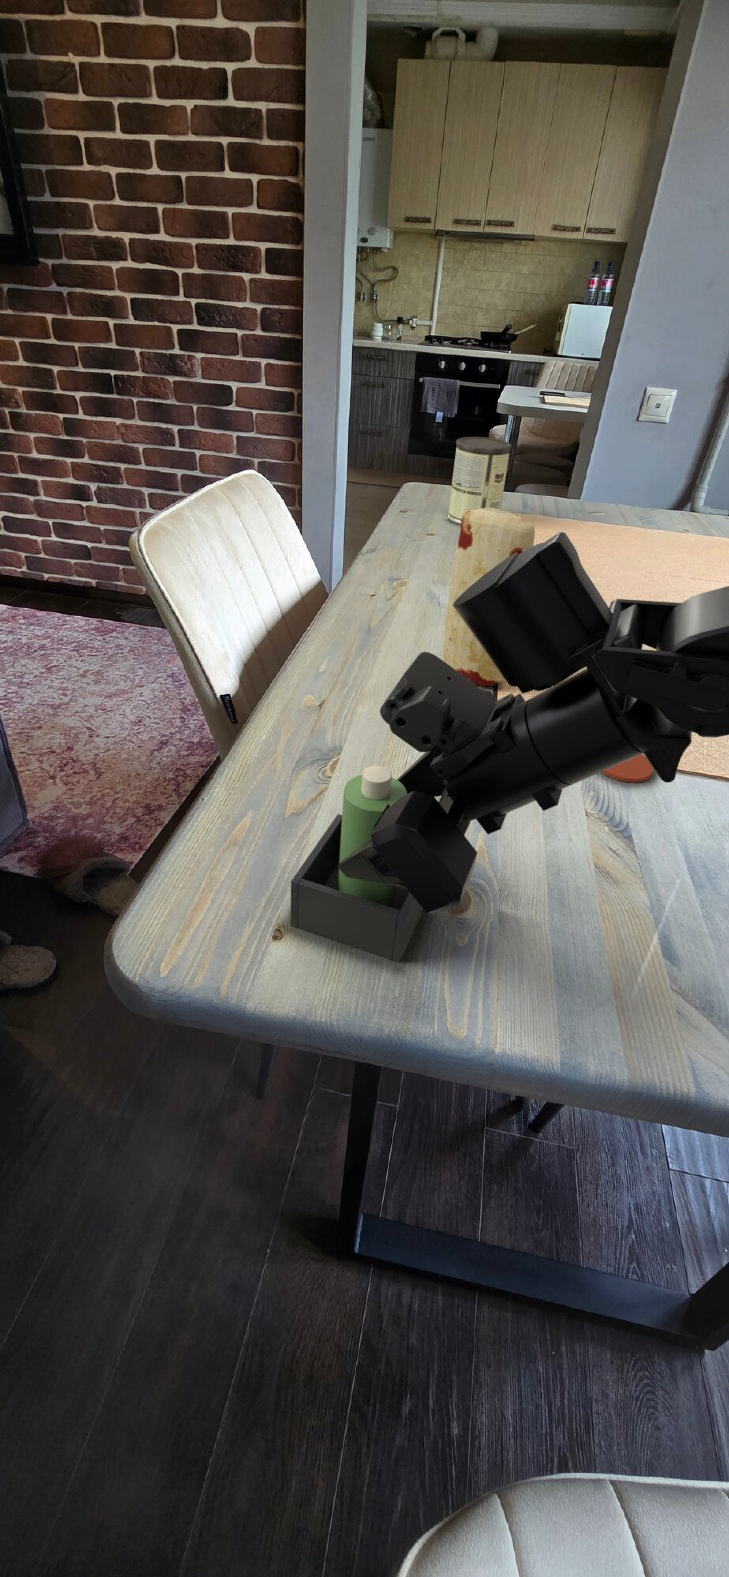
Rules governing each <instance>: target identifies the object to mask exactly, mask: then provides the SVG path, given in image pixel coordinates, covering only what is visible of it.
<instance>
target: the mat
mask: <svg viewBox="0 0 729 1577" xmlns="http://www.w3.org/2000/svg"><path fill="white" fill-rule="evenodd" d="M654 771H655V770H654V768H653V767H652V765H651V764H650V762H649V761H648V759H647V758H646V756H645V755H644V754H641V755H639V756H636V757H634V758H632V759H630V760H627V761H625V762H623V763H621V764H618V765H616V766H614V767H611V768H609V769H607V770H605V771H602V772H601V773H602V774H603V775H605V776H607V777H608V778H611V779H613V780H615V781H619V782H624V783H632V784H634V783H635V784H637V783H642V782H645V781H648V780H649V779H651V777H653V774H654Z"/></svg>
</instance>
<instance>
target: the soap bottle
mask: <svg viewBox="0 0 729 1577" xmlns="http://www.w3.org/2000/svg"><path fill="white" fill-rule="evenodd" d="M405 795H407V791H406V789H405V787H404V786H403V784H402V783H400V782H399V781H398V780H397V779H396V778H394V777H393V774H392V772H391V770H390V769H389V768H386V767H384V766H381V765H370V766H367V767H365V769H364V770H363V771H362V774H360V775H357V776H354V777H352V778H350V779H349V780H348V781H347V782H346V783H345V784H344V788H343V798H342V799H343V800H342V813H341V815H342V828H341V844H340V860H339V863H340V862H341V861H342V860H344V859H345V858H346V857H347V856H349V855H350V854H351V853H352V852H354V851H355V850H357V849H358V848H359V847H361V846H362V845H364V844H365V843H366V842H368V841H369V840H371V839H372V838H371V834H372V830H373V827H374V825H375V824H376V822H377V820H378V819H379V817H380V815H381V814H382V812H383V810H384V809H385V807H386V806H387V804H389V805H390V806H391V805H392V804H394V803H395V802H396V801H397V800H398V799H399V798H401V797H403V796H405ZM395 889H396V886H393V885H387V884H382V883H376V882H371V881H365V880H359V879H353V878H348V877H346V876H345V875H344V874H343V873H342V871H341V870H340V869H339V877H338V891H341V892H344V893H347V894H350V895H354V896H357V897H360V898H363V899H366V900H369V901H372V902H375V903H378V904H381V905H385V906H388V907H391V908H393V905H394V897H395Z"/></svg>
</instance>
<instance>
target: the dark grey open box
mask: <svg viewBox="0 0 729 1577" xmlns="http://www.w3.org/2000/svg"><path fill="white" fill-rule="evenodd" d="M341 828H342V814H340V813H337V815H336V816H335V817H334V818H333V820H332V822H331V823H330V824H329V826H328V827H327V829H326V830H325V832H324V833H323V834H322V836H321V837H320V839H319V840H318V842H317V843H316V844H315V846H314V847H313V849H312V850H311V852H310V853H309V855H308V856H307V857H306V858H305V860H304V862H303V863H302V865H301V866H300V868H299V869H298V870H297V872H296V873H295V875H294V876H293V877H292V879H291V880H290V927H293V928H296V929H298V930H302V931H304V932H308V933H311V934H313V935H316V936H319V937H323V938H325V939H328V940H330V941H334V942H337V943H340V944H342V945H346V946H348V947H352V948H354V949H357V950H360V951H363V952H366V953H369V954H372V955H374V956H377V957H380V958H383V959H386V960H389V961H391V962H395V963H398V964H400V963H401V961H402V959H403V956H404V954H405V952H406V950H407V947H408V946H409V943H410V941H411V939H412V937H413V934H414V932H415V930H416V928H417V925H418V924H419V922H420V919H421V917H422V915H423V912H424V911H425V910H424V909H423V908H422V907H421V906H420V904H419V903H418V902H417V901H416V899H415V898H414V897H413V896H412V895H411V893H410V892H409V891H408V890H407V889H404V888H401V887H397V886H396V889H395V897H394V905H393V908H391V907H388V906H385V905H381V904H378V903H375V902H372V901H369V900H366V899H363V898H360V897H357V896H354V895H350V894H347V893H344V892H341V891H338V877H339V868H338V865H339V860H340V844H341Z"/></svg>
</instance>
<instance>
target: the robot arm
mask: <svg viewBox="0 0 729 1577" xmlns="http://www.w3.org/2000/svg"><path fill="white" fill-rule="evenodd" d="M606 602H607V601H605V599H604V598H603V596H602V595H601V593H600V592H599V590H598V589H597V587H596V585H595V584H594V582H593V581H592V579H591V577H590V576H589V575H588V573H587V571H586V570H585V568H584V566H583V565H582V562H581V558H580V556H579V554H578V551H577V549H576V547H575V546H574V544H573V543H572V541H571V540H570V538H569V536H568V535H567V533H566V532H564V531H559V532H557V533H556V534H555V535H553V536H552V537H550V538H548V539H547V540H546V541H544V542H539V543H536V544H534V545H533V547H531V548H529V549H527V550H525V551H524V552H522V553H521V554H519V555H518V554H517V553H514V554H512V555H511V556H509V557H508V558H507V559H505V560H504V561H502V562H501V563H499V564H498V565H497V566H495V567H494V568H493V569H491V570H490V571H489V572H487V573H486V574H485V575H484V576H482V577H481V578H480V579H478V580H477V581H476V582H475V583H474V584H472V585H471V586H470V587H469V588H468V589H467V590H466V591H465V592H463V593H462V594H461V595H460V596H459V597H458V598H457V599H456V601H455V602H454V604H453V607H454V608H455V609H456V611H457V612H458V614H459V615H460V616H461V618H462V619H463V621H464V622H465V623H466V625H467V626H468V628H469V629H470V631H471V632H472V633H473V635H474V636H475V638H476V639H477V640H478V642H479V643H480V645H481V646H482V647H483V649H484V650H485V652H486V653H487V655H488V656H489V657H490V659H491V660H492V662H493V663H494V664H495V666H496V667H497V669H498V670H499V672H500V673H501V674H502V676H503V679H504V680H505V682H506V683H507V684H508V686H509V687H517V689H518V690H519V691H520V693H518V694H516V695H515V696H514V694H513V693H509V694H507V695H505V696H503V697H502V698H499V699H497V698H496V697H495V695H494V694H493V693H492V691H490V690H486V689H482V688H480V687H479V686H478V684H475V683H473V682H472V681H470V680H469V679H467V678H466V677H465V676H463V675H462V674H460V673H459V672H458V671H456V670H455V669H454V668H452V667H451V666H449V665H448V664H447V663H445V661H444V660H443V659H441V658H440V657H438V656H437V655H436V654H434V653H431V652H428V651H422V652H420V653H419V654H418V655H417V656H416V657H415V659H414V660H413V661H412V663H411V664H410V665H409V667H408V668H407V669H406V670H405V671H404V673H403V675H402V676H401V677H400V679H399V681H398V682H397V683H396V685H395V686H394V688H393V689H392V690H391V692H390V694H389V695H388V697H386V699H385V700H384V702H383V704H382V705H381V706H380V708H379V713H380V717H381V718H382V720H383V721H384V722H385V723H386V724H387V725H388V726H389V728H390V732H391V733H392V734H393V735H395V736H396V737H398V738H399V739H400V740H401V741H403V742H405V743H406V744H408V746H410V747H411V748H413V749H414V750H415V751H417V752H419V753H423V754H422V755H421V756H420V757H419V758H418V759H417V760H415V761H414V762H413V764H411V765H410V766H409V767H408V768H407V769H406V770H405V771H404V772H403V773H402V774H401V775H399V777H397V779H396V780H398V781H399V782H400V783H402V784H403V786H404V787H405V789H406V791H407V795H405V796H403V797H401V798H399V799H398V800H397V801H396V802H395V803H394V804H392V805H391V806H390V805H389V804H387V806H386V807H385V809H384V810H383V812H382V814H381V815H380V817H379V819H378V820H377V822H376V824H375V825H374V827H373V830H372V834H371V838H372V839H371V840H369V841H368V842H366V843H365V844H364V845H362V846H361V847H359V848H358V849H357V850H355V851H354V852H352V853H351V854H350V855H349V856H347V857H346V858H345V859H344V860H342V861H341V862H340V863H339V865H338V868H339V869H340V870H341V871H342V873H343V874H344V875H345V876H346V877H348V878H353V879H359V880H365V881H371V882H376V883H382V884H387V885H393V886H397V887H401V888H404V889H407V890H408V891H409V892H410V893H411V895H412V896H413V897H414V898H415V899H416V901H417V902H418V903H419V904H420V906H421V907H422V908H423V909H424V910H423V911H424V912H425V913H426V914H437V913H440V912H443V911H446V910H449V909H451V908H454V907H457V906H459V905H460V904H461V902H462V900H463V897H464V895H465V893H466V890H467V887H468V885H469V883H470V880H471V877H472V875H473V872H474V869H475V866H476V860H477V856H478V852H477V850H476V849H475V848H474V846H473V845H472V844H471V842H470V841H469V840H468V838H467V837H466V833H467V832H468V829H469V828H470V824H471V823H472V821H474V820H476V821H477V823H478V824H479V825H480V826H481V827H482V829H483V830H484V832H485V833H486V834H487V835H491V834H493V833H496V832H497V831H498V832H499V831H500V830H502V828H503V824H504V822H505V819H506V817H507V814H509V813H510V812H513V811H515V810H517V809H520V808H522V807H525V806H527V805H529V804H531V803H533V802H535V803H537V804H538V806H539V807H540V809H541V810H542V811H543V812H545V811H546V810H550V809H552V808H554V807H556V806H558V805H559V802H560V799H561V795H562V792H563V789H566V788H568V787H571V786H572V785H575V784H577V783H579V782H581V781H584V780H587V779H588V778H591V777H594V776H595V775H597V774H600V773H602V771H605V770H607V769H609V768H611V767H614V766H616V765H618V764H621V763H623V762H625V761H627V760H630V759H632V758H634V757H636V756H639V755H641V754H642V755H644V756H645V757H646V758H647V759H648V761H649V762H650V764H651V765H652V767H653V768H654V771H655V773H656V774H657V775H658V777H659V779H660V780H661V781H662V782H663V783H667V784H668V783H669V784H670V783H672V782H673V781H675V780H676V777H677V776H676V775H677V771H678V768H679V765H680V762H681V760H682V757H683V755H684V753H685V752H686V750H687V749H688V747H690V745H691V743H692V738H693V734H692V733H694V734H697V735H698V736H699V737H701V738H720V737H725V736H729V585H727V586H723V587H720V588H716V589H713V590H709V591H705V592H702V593H699V594H695V595H693V596H691V597H690V598H687V599H686V600H684V601H682V602H672V601H659V600H658V601H657V600H656V601H655V600H640V599H624V598H615V599H613V600H612V601H611V602H610V604H609V606H608V604H607V603H606ZM643 646H647V647H648V648H652V649H644V648H643ZM653 649H654V650H653ZM583 669H584V670H583ZM579 671H580V672H579ZM532 691H536V692H540V693H538V694H537V695H535V696H533V697H531V698H529V699H527V700H526V699H524V697H523V695H522V694H527V693H530V692H532ZM541 691H542V692H541ZM437 797H439V800H437Z"/></svg>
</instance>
